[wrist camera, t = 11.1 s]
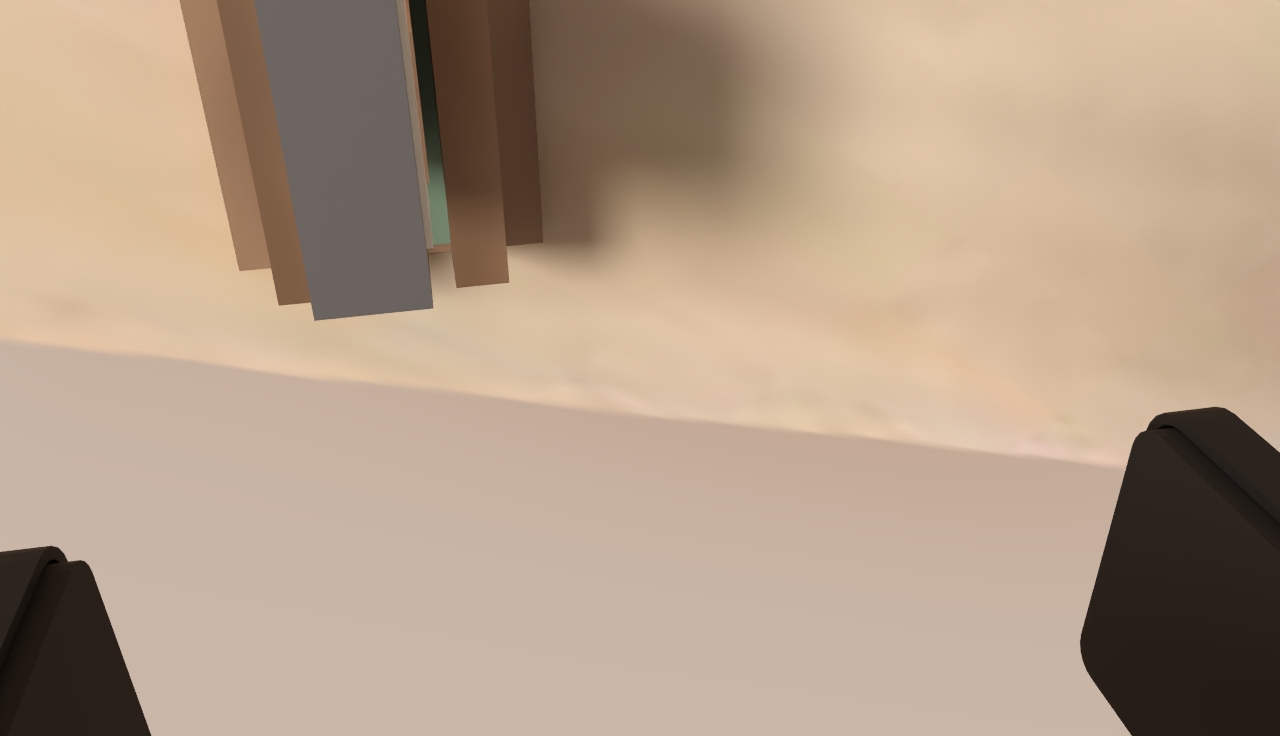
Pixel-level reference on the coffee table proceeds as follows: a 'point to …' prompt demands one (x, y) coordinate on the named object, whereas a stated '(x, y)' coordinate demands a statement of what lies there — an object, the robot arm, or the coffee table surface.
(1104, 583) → the robot arm
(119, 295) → the coffee table surface
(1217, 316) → the coffee table surface
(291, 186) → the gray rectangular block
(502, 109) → the display stand
